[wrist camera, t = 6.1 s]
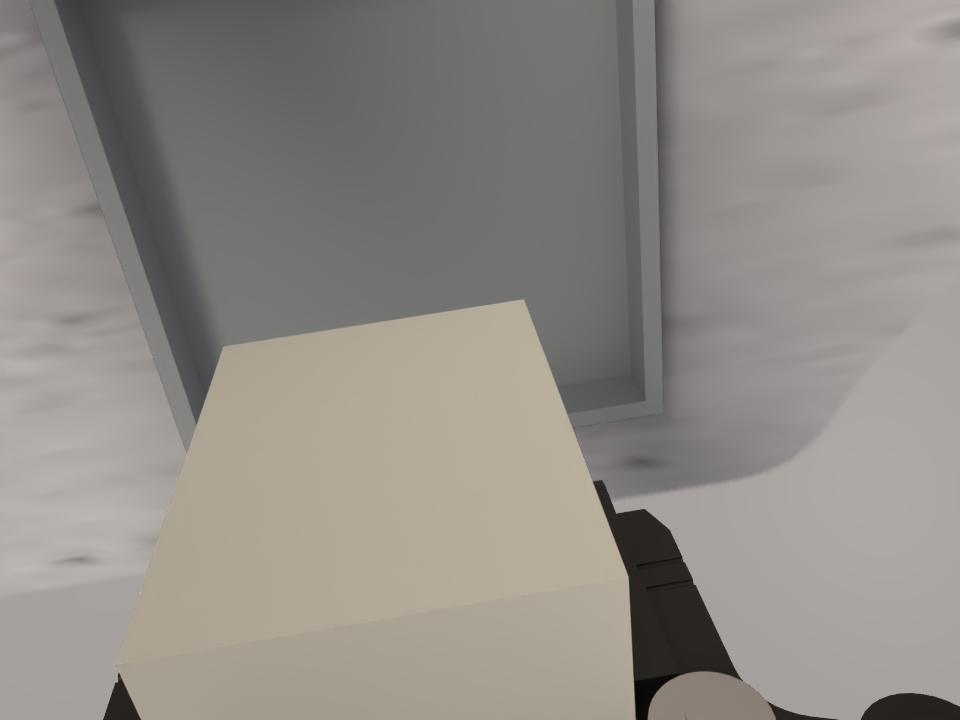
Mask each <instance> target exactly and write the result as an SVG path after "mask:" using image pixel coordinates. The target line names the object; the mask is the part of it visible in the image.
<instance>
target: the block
mask: <svg viewBox="0 0 960 720" xmlns="http://www.w3.org/2000/svg"><path fill="white" fill-rule="evenodd" d="M116 667H117V669H118V671H119V673H120V676H121V678H122V680H123V682H124V684H125V686H126V688H127V691H128V693H129V695H130V697H131V699H132V701H133V703H134V706H135V708H136V710H137V712H138V714H139V716H140V718H141V720H636V717H635V697H634V677H633V656H632V636H631V616H630V596H629V577H628V574H627V572H626V569H625V566H624V564H623V561H622V558H621V556H620V553H619V550H618V548H617V545H616V542H615V540H614V537H613V534H612V532H611V529H610V527H609V524H608V521H607V519H606V516H605V513H604V511H603V508H602V505H601V503H600V500H599V497H598V495H597V492H596V489H595V487H594V484H593V481H592V479H591V476H590V473H589V471H588V468H587V465H586V463H585V460H584V457H583V455H582V452H581V450H580V447H579V444H578V442H577V439H576V436H575V434H574V431H573V428H572V426H571V423H570V420H569V418H568V415H567V412H566V410H565V407H564V404H563V402H562V399H561V396H560V394H559V391H558V388H557V386H556V383H555V380H554V378H553V375H552V373H551V370H550V367H549V365H548V362H547V359H546V357H545V354H544V351H543V349H542V346H541V343H540V341H539V338H538V335H537V333H536V330H535V327H534V325H533V322H532V319H531V317H530V314H529V311H528V309H527V306H526V303H525V301H524V299H523V300H516V301H510V302H504V303H497V304H491V305H484V306H478V307H472V308H465V309H459V310H453V311H446V312H440V313H434V314H427V315H421V316H414V317H408V318H402V319H395V320H389V321H383V322H376V323H370V324H364V325H357V326H351V327H345V328H338V329H332V330H325V331H319V332H313V333H306V334H300V335H294V336H287V337H281V338H275V339H268V340H262V341H256V342H249V343H243V344H236V345H230V346H224V347H223V349H222V352H221V355H220V358H219V361H218V364H217V367H216V370H215V373H214V376H213V379H212V382H211V385H210V387H209V390H208V393H207V396H206V399H205V402H204V405H203V408H202V411H201V414H200V417H199V420H198V423H197V426H196V429H195V432H194V435H193V438H192V441H191V443H190V446H189V449H188V452H187V455H186V458H185V461H184V464H183V467H182V470H181V473H180V476H179V479H178V482H177V485H176V488H175V491H174V494H173V496H172V499H171V502H170V505H169V508H168V511H167V514H166V517H165V520H164V523H163V526H162V529H161V532H160V535H159V538H158V541H157V544H156V547H155V550H154V552H153V555H152V558H151V561H150V564H149V567H148V570H147V573H146V576H145V579H144V582H143V585H142V588H141V591H140V594H139V597H138V600H137V603H136V605H135V608H134V611H133V614H132V617H131V620H130V623H129V626H128V629H127V632H126V635H125V638H124V641H123V644H122V647H121V650H120V653H119V656H118V658H117V661H116Z"/></svg>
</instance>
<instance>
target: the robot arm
mask: <svg viewBox="0 0 960 720" xmlns="http://www.w3.org/2000/svg"><path fill="white" fill-rule="evenodd" d="M593 484H594V487H595V489H596V492H597V495H598V497H599V500H600V503H601V505H602V508H603V511H604V513H605V516H606V519H607V521H608V524H609V527H610V529H611V532H612V534H613V537H614V540H615V542H616V545H617V548H618V550H619V553H620V556H621V558H622V561H623V564H624V566H625V569H626V572H627V574H628V577H629V596H630V616H631V636H632V656H633V677H634V697H635V717H636V720H836V719H828V718H819V717H810V716H805V715H799V714H796V713H793V712H789V711H786V710H784V709H781V708H779V707H777V706H774V705H773V704H771V703H769V702H767V701H766V700H765V699H764V698H763V697H762V696H761V695H760V693H759V692H757V691H756V690H755V689H754V688H752V687H751V686H750V685H748V684H746V683H744V682H743V680H742V679H741V678H740V677H739V675H738V673H737V672H736V670H735V668H734V666H733V664H732V662H731V660H730V658H729V655H728V653H727V651H726V649H725V647H724V645H723V643H722V641H721V639H720V636H719V634H718V632H717V630H716V628H715V626H714V624H713V621H712V619H711V617H710V615H709V613H708V611H707V609H706V606H705V605H704V602H703V600H702V598H701V596H700V594H699V591H698V589H697V587H696V585H694V584H693V579H692V577H691V574H690V572H689V570H688V568H687V566H686V564H685V562H683V559H682V555H681V553H680V551H679V549H678V547H677V544H676V542H675V540H674V539H673V536H672V534H671V532H670V530H669V529H668V528H667V527H666V526H664V525H663V524H662V523H661V522H659V521H658V520H657V519H656V518H655V517H654V516H652V515H651V514H650V513H649V512H647V511H646V510H645V509H642V510H636V511H630V512H624V513H618V514H616V512H615V510H614V507H613V505H612V502H611V500H610V497H609V494H608V492H607V489H606V487H605V485H604V483H603V481H602V480H599V481H593ZM103 720H141V718H140V716H139V714H138V712H137V710H136V708H135V706H134V703H133V701H132V699H131V697H130V695H129V693H128V691H127V688H126V686H125V684H124V682H123V680H122V678H121V676H120V673H119V674H118V683H115V686H114V689H113V692H112V695H111V698H110V701H109V704H108V707H107V710H106V713H105V716H104V719H103ZM861 720H960V707H959V706H957V705H955V704H953V703H951V702H948V701H946V700H943V699H940V698H937V697H934V696H929V695H924V694H915V693H904V694H896V695H890V696H887V697H885V698H882V699H879V700H878V701H876V702H875V703H873V704H872V705H871V706H870V707H869V708H868V709H867V710H866V711H865V713H864V715H863V716H862V718H861Z"/></svg>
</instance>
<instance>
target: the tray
mask: <svg viewBox="0 0 960 720" xmlns="http://www.w3.org/2000/svg"><path fill="white" fill-rule="evenodd" d="M29 3H30V6H31V8H32V11H33V14H34V17H35V20H36V23H37V26H38V28H39V31H40V34H41V37H42V40H43V43H44V46H45V49H46V51H47V54H48V57H49V60H50V63H51V66H52V69H53V72H54V74H55V77H56V80H57V83H58V86H59V89H60V92H61V94H62V97H63V100H64V103H65V106H66V109H67V112H68V115H69V117H70V120H71V123H72V126H73V129H74V132H75V135H76V138H77V140H78V143H79V146H80V149H81V152H82V155H83V158H84V161H85V163H86V166H87V169H88V172H89V175H90V178H91V181H92V183H93V186H94V189H95V192H96V195H97V198H98V201H99V204H100V206H101V209H102V212H103V215H104V218H105V221H106V224H107V227H108V229H109V232H110V235H111V238H112V241H113V244H114V247H115V249H116V252H117V255H118V258H119V261H120V264H121V267H122V270H123V272H124V275H125V278H126V281H127V284H128V287H129V290H130V293H131V295H132V298H133V301H134V304H135V307H136V310H137V313H138V316H139V318H140V321H141V324H142V327H143V330H144V333H145V336H146V338H147V341H148V344H149V347H150V350H151V353H152V356H153V359H154V361H155V364H156V367H157V370H158V373H159V376H160V379H161V382H162V384H163V387H164V390H165V393H166V396H167V399H168V402H169V405H170V407H171V410H172V413H173V416H174V419H175V422H176V425H177V427H178V430H179V433H180V436H181V439H182V442H183V445H184V448H185V450H186V453H187V452H188V449H189V446H190V443H191V441H192V438H193V435H194V432H195V429H196V426H197V423H198V420H199V417H200V414H201V411H202V408H203V405H204V402H205V399H206V396H207V393H208V390H209V387H210V385H211V382H212V379H213V376H214V373H215V370H216V367H217V364H218V361H219V358H220V355H221V352H222V349H223V347H224V346H230V345H236V344H243V343H249V342H256V341H262V340H268V339H275V338H281V337H287V336H294V335H300V334H306V333H313V332H319V331H325V330H332V329H338V328H345V327H351V326H357V325H364V324H370V323H376V322H383V321H389V320H395V319H402V318H408V317H414V316H421V315H427V314H434V313H440V312H446V311H453V310H459V309H465V308H472V307H478V306H484V305H491V304H497V303H504V302H510V301H516V300H523V299H524V301H525V303H526V306H527V309H528V311H529V314H530V317H531V319H532V322H533V325H534V327H535V330H536V333H537V335H538V338H539V341H540V343H541V346H542V349H543V351H544V354H545V357H546V359H547V362H548V365H549V367H550V370H551V373H552V375H553V378H554V380H555V383H556V386H557V388H558V391H559V394H560V396H561V399H562V402H563V404H564V407H565V410H566V412H567V415H568V418H569V420H570V423H571V426H572V428H575V427H581V426H587V425H594V424H600V423H606V422H612V421H618V420H624V419H631V418H637V417H643V416H649V415H655V414H661V413H663V374H662V327H661V280H660V234H659V187H658V141H657V94H656V47H655V1H654V0H29Z"/></svg>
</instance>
